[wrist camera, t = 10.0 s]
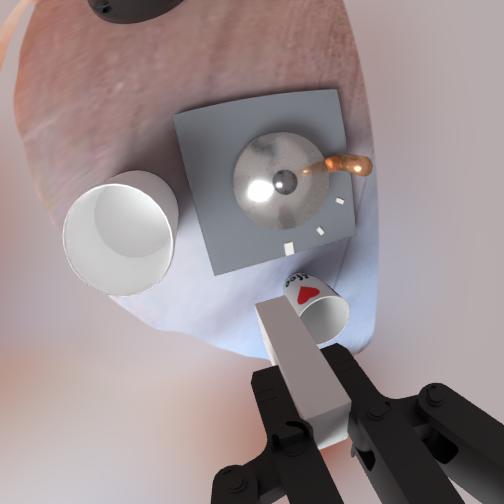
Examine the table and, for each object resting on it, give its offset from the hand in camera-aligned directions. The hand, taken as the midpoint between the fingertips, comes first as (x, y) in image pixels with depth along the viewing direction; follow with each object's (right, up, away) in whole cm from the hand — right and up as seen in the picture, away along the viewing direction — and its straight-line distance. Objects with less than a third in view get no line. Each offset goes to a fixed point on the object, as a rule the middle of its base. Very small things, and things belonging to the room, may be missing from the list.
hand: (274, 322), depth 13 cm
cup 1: (-17, +9, +22) cm, 29 cm away
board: (+2, +14, +24) cm, 28 cm away
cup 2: (+6, -2, +32) cm, 32 cm away
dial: (+4, +13, +22) cm, 26 cm away
